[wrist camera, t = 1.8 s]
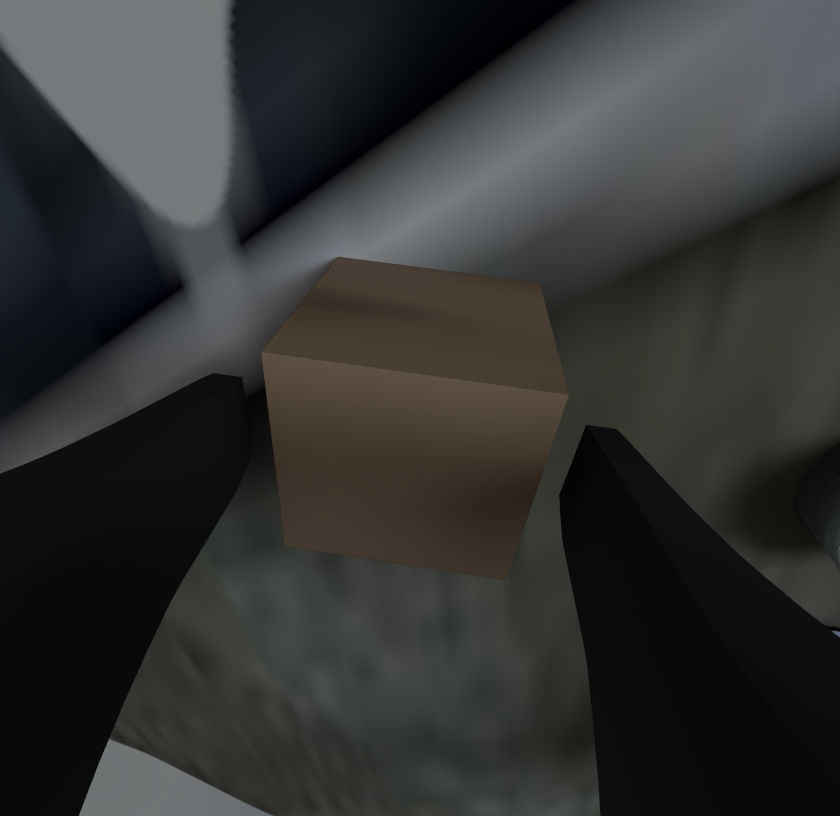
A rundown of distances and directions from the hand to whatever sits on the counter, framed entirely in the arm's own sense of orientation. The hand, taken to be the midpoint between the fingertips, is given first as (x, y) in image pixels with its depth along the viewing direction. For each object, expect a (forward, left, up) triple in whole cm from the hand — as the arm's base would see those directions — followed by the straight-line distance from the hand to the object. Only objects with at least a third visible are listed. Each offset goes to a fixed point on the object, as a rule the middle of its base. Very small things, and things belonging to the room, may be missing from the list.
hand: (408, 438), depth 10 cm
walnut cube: (0, 0, -4) cm, 4 cm away
